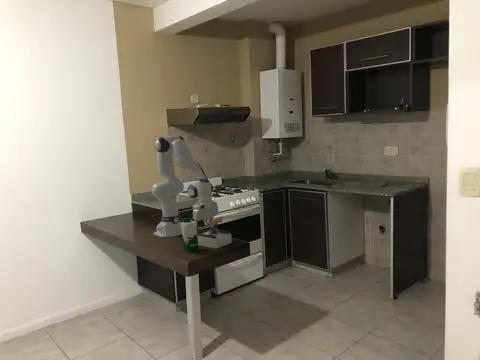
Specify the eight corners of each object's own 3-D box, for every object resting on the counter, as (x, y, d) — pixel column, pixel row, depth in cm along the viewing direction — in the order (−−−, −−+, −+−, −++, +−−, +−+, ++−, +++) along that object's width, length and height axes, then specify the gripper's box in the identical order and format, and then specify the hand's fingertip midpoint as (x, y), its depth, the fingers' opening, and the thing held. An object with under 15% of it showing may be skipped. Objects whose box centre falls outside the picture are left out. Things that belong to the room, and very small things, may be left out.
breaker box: (196, 244, 260) (195, 230, 259) (212, 239, 270) (211, 225, 269) (216, 248, 248) (215, 233, 247) (231, 242, 258) (230, 228, 257)
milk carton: (194, 247, 254) (191, 216, 251) (201, 250, 247) (198, 218, 244) (181, 250, 249) (178, 219, 246) (188, 253, 242) (185, 221, 239)
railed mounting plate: (197, 235, 259) (197, 233, 259) (212, 230, 269) (212, 228, 268) (214, 238, 248) (214, 236, 248) (229, 233, 258) (229, 231, 258)
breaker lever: (206, 234, 255) (210, 220, 251) (217, 230, 263) (221, 217, 259) (208, 236, 254) (212, 222, 250) (219, 232, 262) (223, 218, 257)
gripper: (213, 200, 269) (214, 220, 271) (190, 206, 254) (192, 227, 256) (220, 201, 265) (221, 221, 267) (197, 207, 250) (199, 229, 252)
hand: (207, 224), depth 261 cm, fingers closed
